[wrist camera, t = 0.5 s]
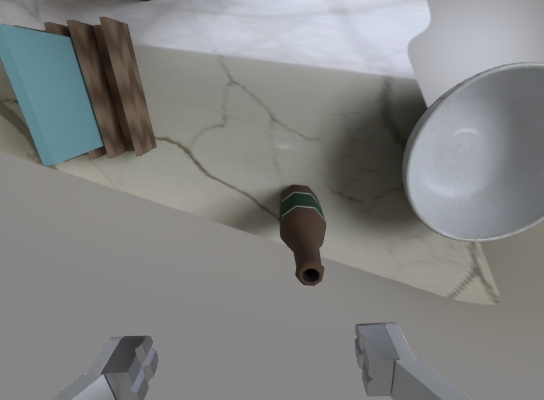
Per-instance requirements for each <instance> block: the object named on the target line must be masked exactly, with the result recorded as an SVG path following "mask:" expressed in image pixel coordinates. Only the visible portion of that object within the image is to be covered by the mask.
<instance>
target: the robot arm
mask: <svg viewBox="0 0 544 400" xmlns="http://www.w3.org/2000/svg"><path fill="white" fill-rule="evenodd" d="M355 332H356V335H357V338H356V340H355V351H356V357H357V362H358V365H359V367H360V368H361V369H362V380H363V383H364V387H365V390H366V394H367V396H391V397H392V399H393V400H471V399H470V398H469V397H468V396H466V395H465V394H464V393H462V392H461V391H460V390H459V389H457V388H456V387H454V386H453V385H452V384H451V383H449V382H448V381H447V380H445V379H444V378H443V377H442V376H440V375H439V374H438V373H437V372H435V371H434V370H433V369H431V368H430V367H429V366H428V365H426V364H425V363H424V362H422V361H421V360H419V359H415V358H414V355H413V354H412V351H411V349H410V347H409V346H408V344H407V341H406V339H405V337H404V335H403V333H402V331H401V329H400V327H399V325H398V323H396V322H383V323H366V324H356V326H355ZM152 343H153V341H152V338H151V336H124V337H112V338H110V339H109V340H108V342H107V343H106V344H105V346H104V348H103V349H102V351H101V352H100V354H99V355H98V357H97V358H96V360H95V361H94V363H93V365H92V366H91V368H90V369H89V371H88V372H87V374H86V375H82V376H80V377H79V378H78V379H76V380H75V381H74V382H73V383H71V384H70V385H69V386H67V387H66V388H65V389H63V390H62V391H61V392H59V393H58V394H57V395H55V396H54V397H53V398H51V399H50V400H144V398H145V396H146V394H147V391H148V389H149V386H148V381H149V380H150V379H151V378H152V377H153V376H154V374H155V371H156V369H157V363H158V357H157V356H158V355H157V352H156V350H155V349H154V348H152V347H151V346H152Z"/></svg>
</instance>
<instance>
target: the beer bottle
mask: <svg viewBox="0 0 544 400" xmlns="http://www.w3.org/2000/svg"><path fill="white" fill-rule="evenodd" d="M325 231H326V222H325V218H324V215H323V212H322V209H321V206H320V203H319V200H318V198H317V197H316V195H315V194H314V193H313V192H312V190H311V189H310V188H309V187H308V186H301V185H292V186H291V187H290V188H288V189H287V190H286V191H284V192H283V193H282V195H281V203H280V236H281V239H282V240H283V241H284V242H285V244H286V245H287V246H288V247H289V248H290V249H291V250H292V251H293V252H294V257H295V262H296V273H295V275H296V277H297V278H298V279H299V281H300V282H301V283H302V284H303V285H310V286H314V285H316V284H317V283H319V282H321V281H322V277H323V272H324V267H323V266H322V265H321V259H320V251H319V247H321V246H322V244H323V241H324V236H325Z"/></svg>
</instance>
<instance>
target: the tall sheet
mask: <svg viewBox="0 0 544 400" xmlns="http://www.w3.org/2000/svg"><path fill="white" fill-rule="evenodd" d="M0 57H1V60H2V62H3V65H4V67H5V70H6V72H7V75H8V77H9V80H10V82H11V85H12V87H13V90H14V92H15V95H16V98H17V100H18V103H19V105H20V108H21V110H22V113H23V115H24V118H25V120H26V123H27V125H28V128H29V130H30V133H31V135H32V138H33V140H34V143H35V145H36V148H37V150H38V153H39V155H40V158H41V160H42V163H43V165H44V166H46V165H56V164H58V163H61V162H63V161H66V160H68V159H71V158H74V157H76V156H79V155H81V154H84V153H86V152H89V151H92V150H94V149H97V148H99V147H102V146H104V142H103V138H102V135H101V132H100V128H99V125H98V122H97V119H96V115H95V112H94V109H93V106H92V102H91V99H90V96H89V92H88V89H87V86H86V83H85V79H84V76H83V73H82V70H81V66H80V63H79V60H78V57H77V53H76V50H75V47H74V43H73V40H72V38H71V37H66V36H61V35H56V34H51V33H45V32H40V31H35V30H30V29H25V28H20V27H15V26H10V25H5V24H0Z"/></svg>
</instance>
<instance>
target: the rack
mask: <svg viewBox="0 0 544 400" xmlns="http://www.w3.org/2000/svg"><path fill="white" fill-rule="evenodd" d="M99 18H100V22H101V25H95V26H92V25H88V24H85V23H81V22H78V21H74V20H66V21H67V24H68V27H67V26H63V25H59V24H55V23H51V22H46V23H44V24H45V27H46V30H45V31H41V30H36V29H31V28H26V27H21V26H15V27H20V28H25V29H30V30H35V31H40V32H45V33H51V34H56V35H61V36H66V37H71V38H72V40H73V43H74V47H75V50H76V53H77V57H78V60H79V63H80V66H81V70H82V73H83V76H84V79H85V83H86V86H87V89H88V92H89V96H90V99H91V102H92V106H93V109H94V112H95V115H96V119H97V122H98V125H99V128H100V132H101V135H102V138H103V142H104V146H102V147H99V148H97V149H94V150H92V151H89V152H86V153H84V154H88V156H89V159H96V158H98V157H100V156H102V155H105V154H107V155H108V158H114V157H116V156H118V155H120V154H122V153H124V152H126V151H131V150H135V153H136V156H141V155H143V154H145V153H146V152H148V151H150V150H152V149H154V148H156V143H155V138H154V134H153V130H152V126H151V121H150V117H149V113H148V109H147V105H146V100H145V96H144V92H143V88H142V84H141V79H140V75H139V71H138V67H137V62H136V58H135V54H134V50H133V46H132V41H131V37H130V33H129V29H128V24H125V23H121V22H119V21H116V20H113V19H110V18H107V17H99ZM81 155H83V154H81ZM81 155H79V156H81ZM76 157H78V156H76ZM74 158H75V157H74ZM71 159H73V158H71ZM68 160H70V159H68ZM68 160H66V161H68ZM63 162H64V161H63Z"/></svg>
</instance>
